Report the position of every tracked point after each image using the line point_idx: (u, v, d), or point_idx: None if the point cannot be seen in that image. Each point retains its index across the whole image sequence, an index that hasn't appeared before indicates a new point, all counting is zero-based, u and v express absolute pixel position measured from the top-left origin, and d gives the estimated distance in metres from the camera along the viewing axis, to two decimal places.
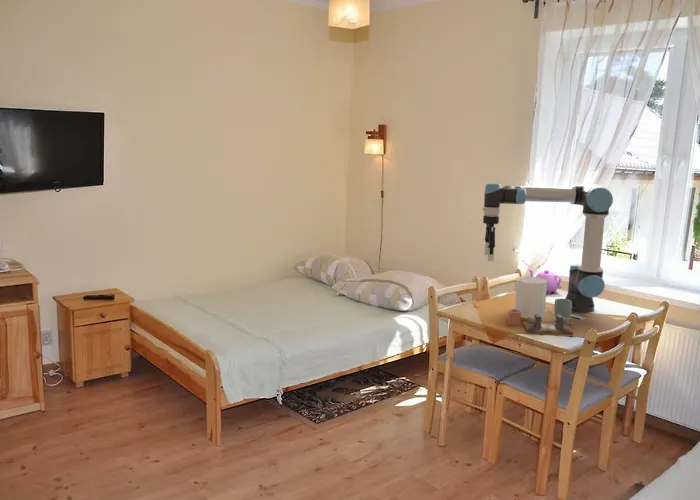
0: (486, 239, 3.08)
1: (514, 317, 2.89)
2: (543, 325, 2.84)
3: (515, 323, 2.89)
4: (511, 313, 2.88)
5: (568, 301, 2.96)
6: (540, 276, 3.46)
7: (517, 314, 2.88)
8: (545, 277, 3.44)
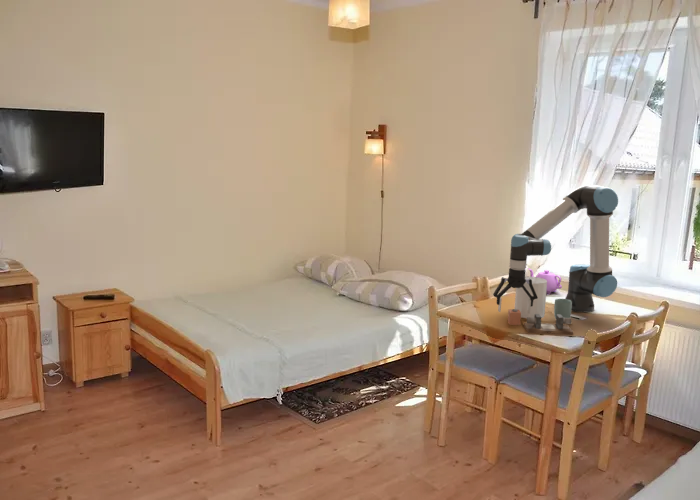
0: None
1: (514, 317, 2.89)
2: (543, 325, 2.84)
3: (515, 323, 2.89)
4: (511, 313, 2.88)
5: (568, 301, 2.96)
6: (540, 276, 3.46)
7: (517, 314, 2.88)
8: (545, 277, 3.44)
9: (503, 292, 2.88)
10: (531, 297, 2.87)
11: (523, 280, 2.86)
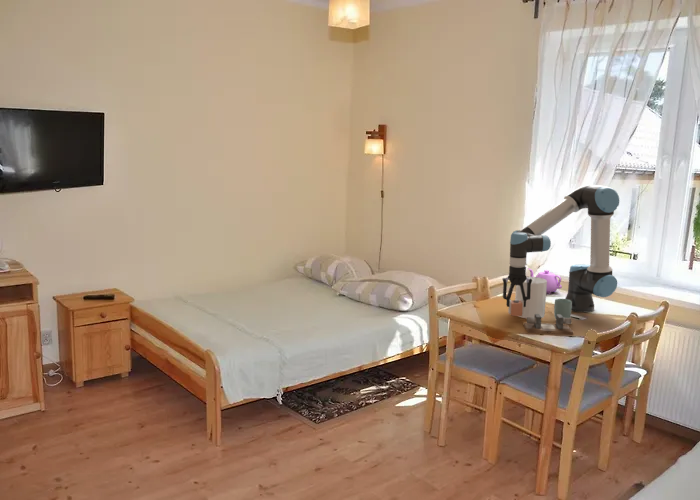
0: (522, 295, 2.90)
1: (516, 308, 2.88)
2: (543, 325, 2.84)
3: (517, 314, 2.88)
4: (512, 304, 2.88)
5: (568, 301, 2.96)
6: (540, 276, 3.46)
7: (519, 305, 2.87)
8: (545, 277, 3.44)
9: (510, 293, 2.88)
10: (524, 298, 2.88)
11: (524, 277, 2.86)
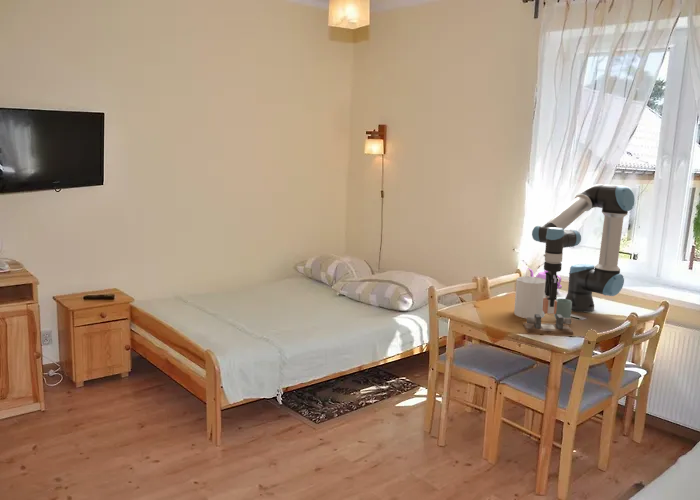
0: (547, 291, 2.82)
1: None
2: (543, 325, 2.84)
3: None
4: None
5: (568, 301, 2.96)
6: (540, 276, 3.46)
7: None
8: (545, 277, 3.44)
9: None
10: None
11: None
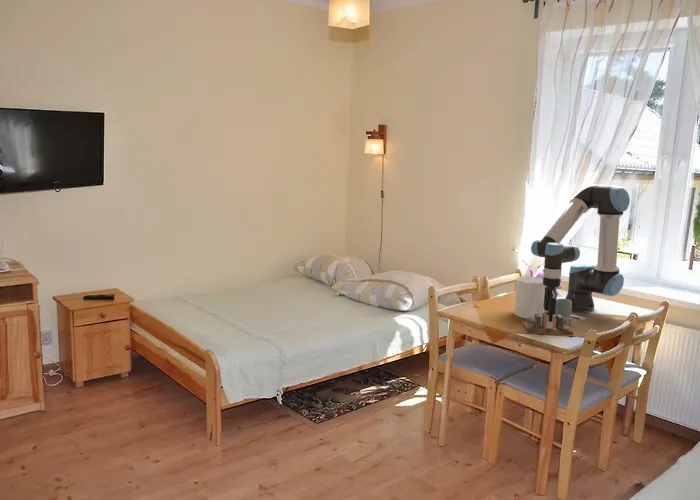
0: (545, 306, 2.83)
1: None
2: None
3: None
4: None
5: (568, 301, 2.96)
6: (540, 276, 3.46)
7: None
8: None
9: None
10: None
11: None
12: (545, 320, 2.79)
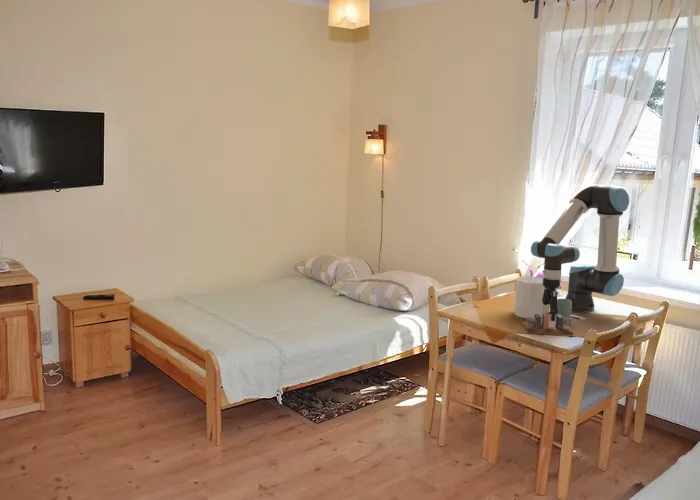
0: (544, 301, 2.87)
1: None
2: None
3: None
4: None
5: (568, 301, 2.96)
6: (540, 276, 3.46)
7: None
8: None
9: None
10: (548, 302, 2.88)
11: None
12: (545, 320, 2.79)
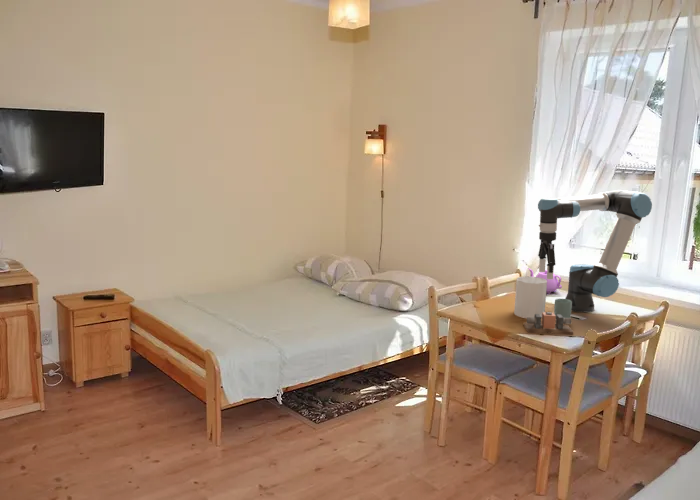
0: (541, 256, 2.95)
1: None
2: None
3: None
4: None
5: (568, 301, 2.96)
6: (540, 276, 3.46)
7: None
8: (545, 277, 3.44)
9: None
10: (544, 256, 2.96)
11: None
12: (545, 320, 2.79)
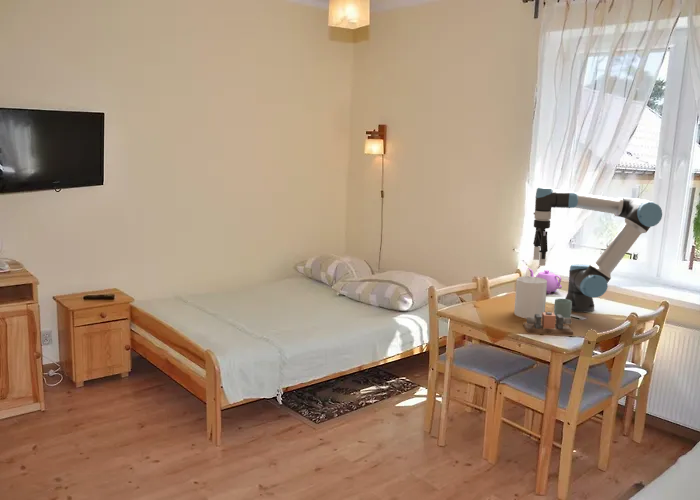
0: (535, 243, 3.05)
1: None
2: None
3: None
4: None
5: (568, 301, 2.96)
6: (540, 276, 3.46)
7: None
8: (545, 277, 3.44)
9: None
10: (539, 244, 3.06)
11: None
12: (545, 320, 2.79)
